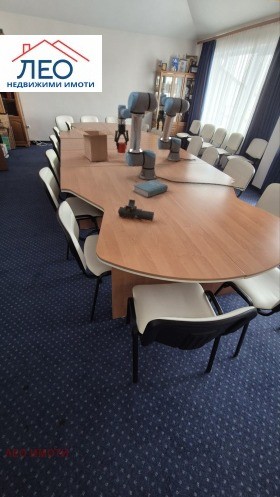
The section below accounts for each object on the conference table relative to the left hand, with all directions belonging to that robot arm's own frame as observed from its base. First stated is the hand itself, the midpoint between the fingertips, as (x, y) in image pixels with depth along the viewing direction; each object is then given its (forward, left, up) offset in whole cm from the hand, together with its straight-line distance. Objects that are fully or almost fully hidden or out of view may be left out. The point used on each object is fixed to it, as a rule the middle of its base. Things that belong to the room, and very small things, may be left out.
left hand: (121, 148), depth 226 cm
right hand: (-49, -56, +10) cm, 75 cm away
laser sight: (-5, +119, -15) cm, 120 cm away
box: (+28, -20, -15) cm, 37 cm away
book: (-21, +74, -15) cm, 78 cm away
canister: (0, 0, -3) cm, 3 cm away
